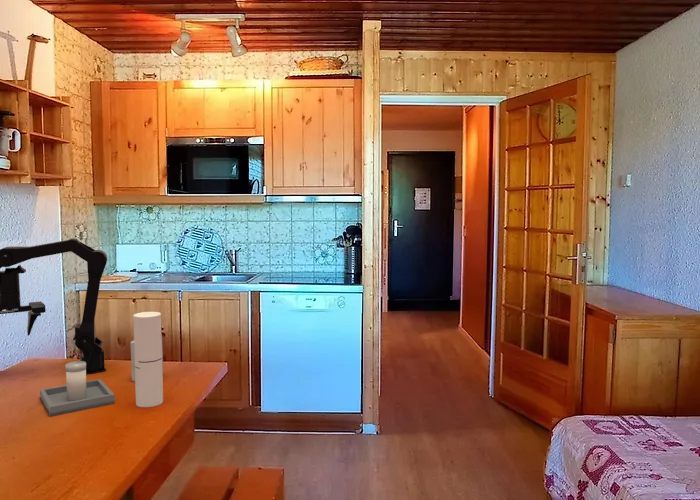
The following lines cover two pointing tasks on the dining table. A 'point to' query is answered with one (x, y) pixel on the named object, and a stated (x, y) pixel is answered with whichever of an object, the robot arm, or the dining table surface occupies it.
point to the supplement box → (134, 361)
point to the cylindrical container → (148, 359)
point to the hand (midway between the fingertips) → (11, 337)
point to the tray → (59, 404)
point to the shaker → (76, 380)
